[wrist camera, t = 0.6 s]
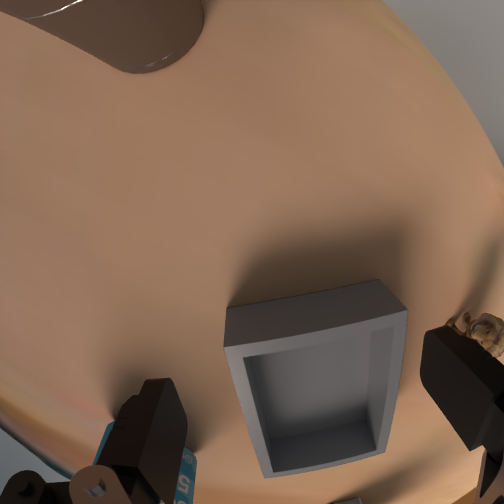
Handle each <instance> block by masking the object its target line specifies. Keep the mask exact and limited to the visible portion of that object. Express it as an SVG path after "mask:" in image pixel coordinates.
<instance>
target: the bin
mask: <svg viewBox="0 0 504 504" xmlns="http://www.w3.org/2000/svg"><path fill="white" fill-rule="evenodd" d="M407 314H408V309H407V308H406V307H405V306H404V305H403V304H402V303H401V302H400V301H399V300H398V299H397V297H396V296H395V295H394V294H393V293H392V292H391V291H390V290H389V289H388V288H387V287H386V286H385V285H384V284H383V283H382V281H381V280H380V279H379V280H374V281H369V282H365V283H360V284H355V285H351V286H346V287H341V288H336V289H331V290H326V291H321V292H316V293H311V294H305V295H300V296H295V297H289V298H284V299H278V300H272V301H267V302H261V303H255V304H249V305H243V306H237V307H231V308H226V321H225V334H224V351H225V354H226V358H227V361H228V365H229V368H230V372H231V375H232V379H233V382H234V386H235V389H236V392H237V396H238V399H239V402H240V406H241V409H242V412H243V415H244V418H245V422H246V425H247V428H248V431H249V434H250V437H251V441H252V444H253V447H254V450H255V453H256V456H257V459H258V462H259V465H260V468H261V471H262V474H263V476H264V479H265V478H273V477H280V476H287V475H293V474H299V473H304V472H310V471H315V470H320V469H324V468H329V467H333V466H338V465H342V464H346V463H350V462H354V461H357V460H361V459H364V458H368V457H371V456H375V455H378V454H381V453H384V452H385V450H386V446H387V442H388V438H389V434H390V429H391V425H392V420H393V415H394V410H395V405H396V400H397V394H398V388H399V382H400V376H401V369H402V362H403V354H404V346H405V336H406V326H407Z"/></svg>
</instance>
